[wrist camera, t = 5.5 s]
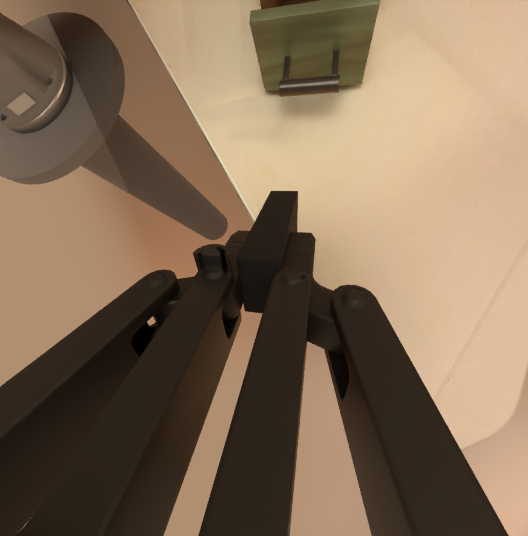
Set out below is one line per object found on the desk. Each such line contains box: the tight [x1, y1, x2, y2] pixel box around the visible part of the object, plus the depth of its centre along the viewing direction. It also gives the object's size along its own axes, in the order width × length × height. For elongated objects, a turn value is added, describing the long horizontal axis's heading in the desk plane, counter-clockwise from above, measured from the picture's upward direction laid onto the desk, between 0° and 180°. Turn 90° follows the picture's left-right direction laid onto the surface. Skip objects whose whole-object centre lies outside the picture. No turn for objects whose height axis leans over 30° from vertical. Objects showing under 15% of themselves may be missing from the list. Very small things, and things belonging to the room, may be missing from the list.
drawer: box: [250, 0, 380, 97], centre depth 26 cm, size 18×11×8 cm, turn 174°
